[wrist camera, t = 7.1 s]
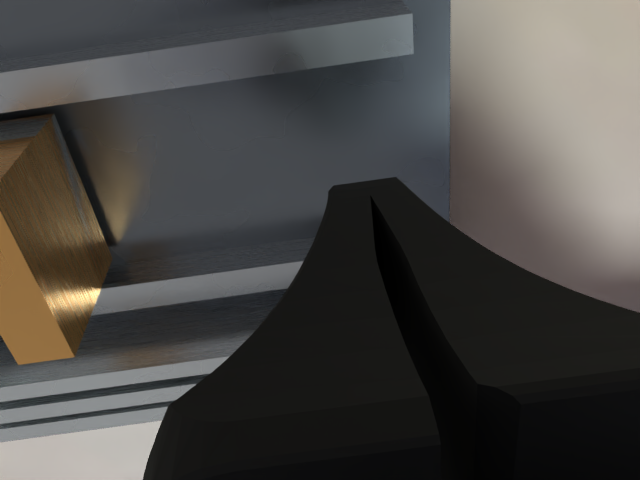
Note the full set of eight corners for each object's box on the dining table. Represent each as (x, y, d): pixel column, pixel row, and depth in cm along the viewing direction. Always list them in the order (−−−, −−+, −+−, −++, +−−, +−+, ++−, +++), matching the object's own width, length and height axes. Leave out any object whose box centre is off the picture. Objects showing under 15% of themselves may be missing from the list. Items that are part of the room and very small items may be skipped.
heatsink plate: (436, -166, 12) (502, -169, 8) (439, 293, 18) (476, 394, 15) (-344, -50, 12) (-589, -7, 9) (-58, 361, 19) (-130, 476, 15)
